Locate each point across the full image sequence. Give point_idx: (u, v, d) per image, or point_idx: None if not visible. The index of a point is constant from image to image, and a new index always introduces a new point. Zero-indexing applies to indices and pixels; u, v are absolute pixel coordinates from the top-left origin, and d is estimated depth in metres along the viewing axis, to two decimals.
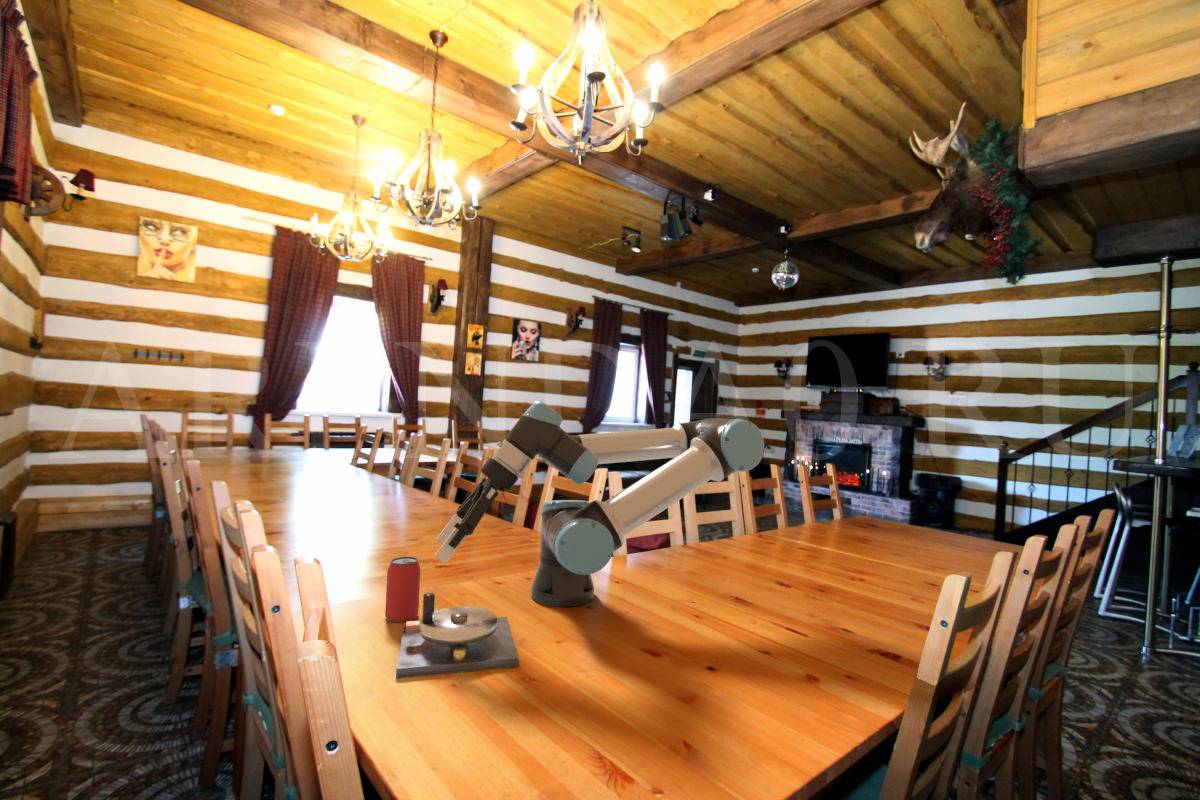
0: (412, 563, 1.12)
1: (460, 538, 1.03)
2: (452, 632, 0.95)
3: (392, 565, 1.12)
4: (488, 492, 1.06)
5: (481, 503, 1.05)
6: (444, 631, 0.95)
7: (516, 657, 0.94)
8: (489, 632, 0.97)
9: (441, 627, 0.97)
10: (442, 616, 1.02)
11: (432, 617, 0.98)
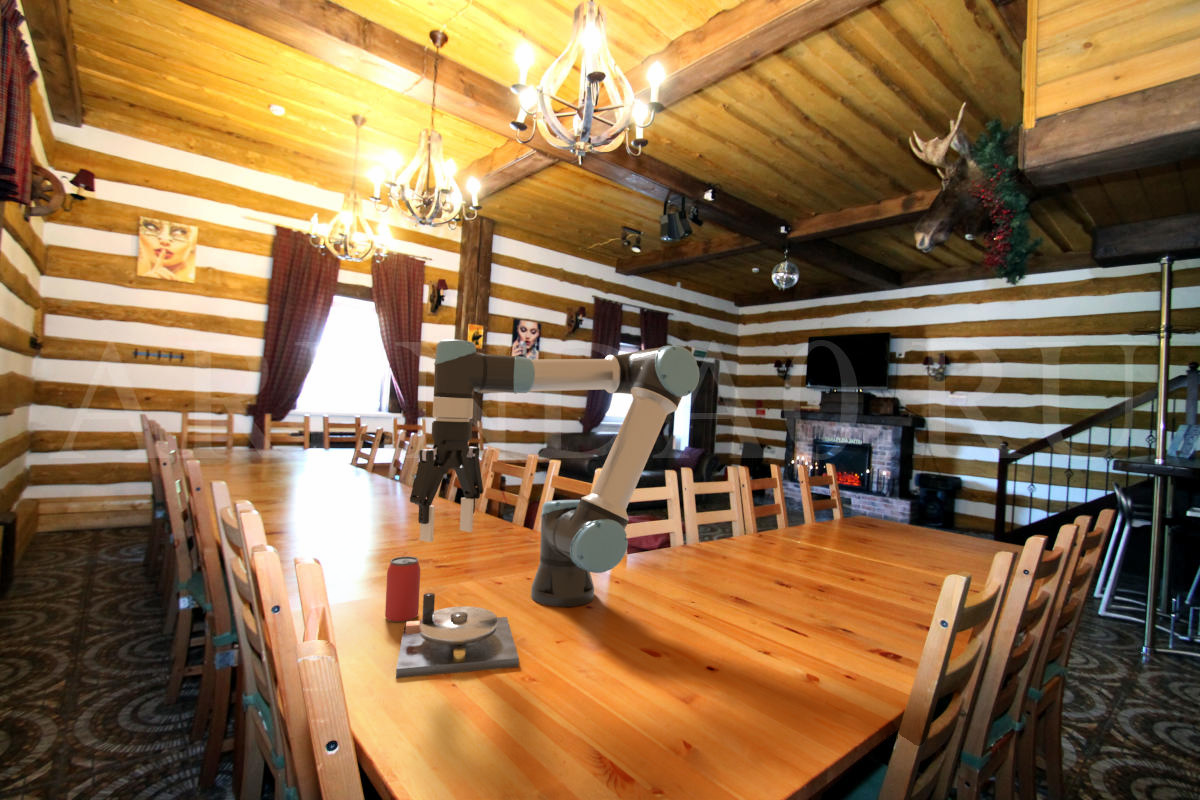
0: (412, 563, 1.12)
1: (423, 511, 0.99)
2: (452, 632, 0.95)
3: (392, 565, 1.12)
4: (422, 455, 0.99)
5: (420, 469, 0.99)
6: (444, 631, 0.95)
7: (516, 657, 0.94)
8: (489, 632, 0.97)
9: (441, 627, 0.97)
10: (442, 616, 1.02)
11: (432, 617, 0.98)
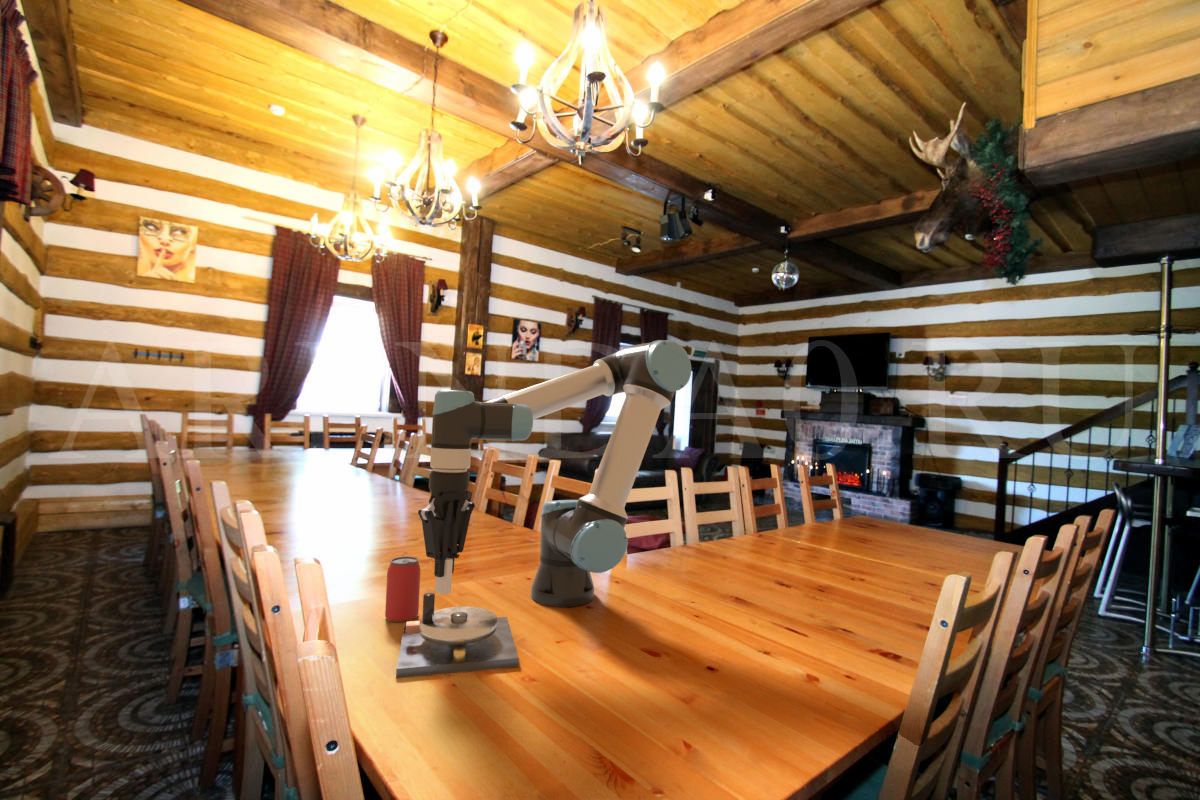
0: (412, 563, 1.12)
1: (438, 565, 1.02)
2: (452, 632, 0.95)
3: (392, 565, 1.12)
4: (422, 516, 1.00)
5: (425, 528, 1.00)
6: (444, 631, 0.95)
7: (516, 657, 0.94)
8: (489, 632, 0.97)
9: (441, 627, 0.97)
10: (442, 616, 1.02)
11: (432, 617, 0.98)
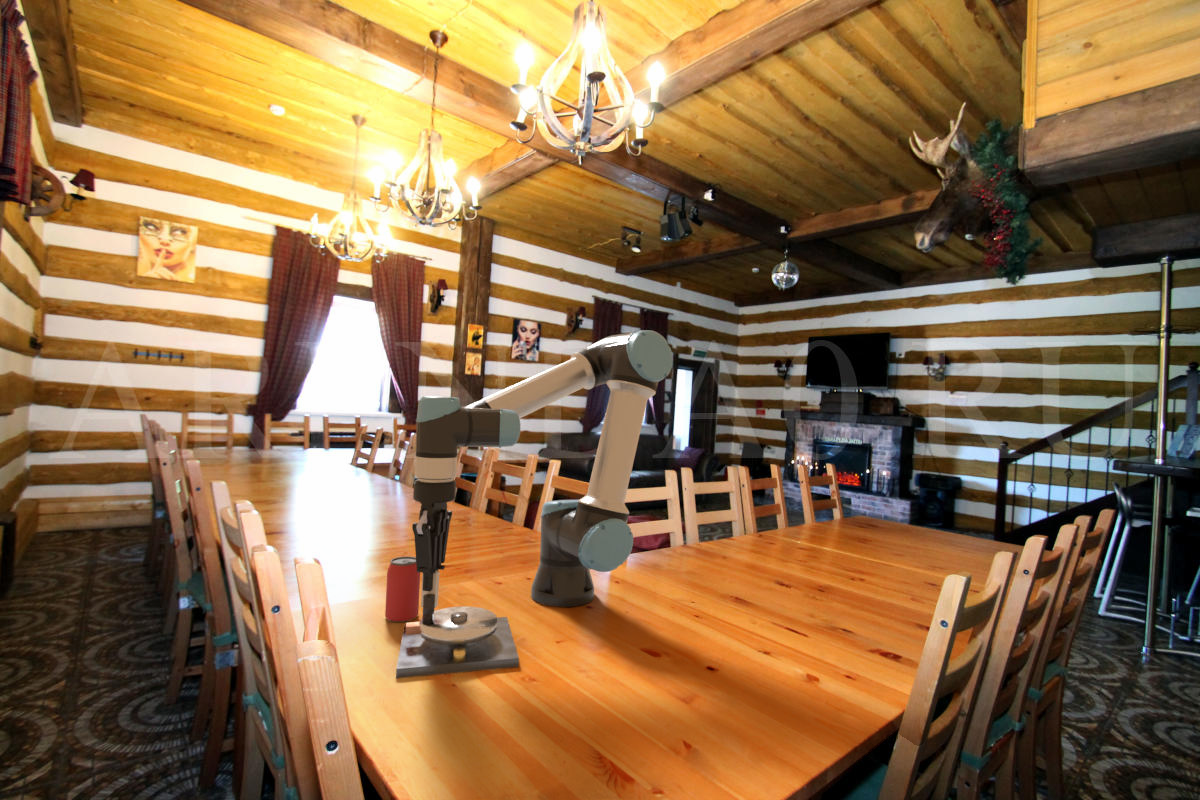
0: (412, 563, 1.12)
1: (428, 579, 0.98)
2: (453, 632, 0.95)
3: (392, 565, 1.12)
4: (416, 531, 0.95)
5: (419, 543, 0.95)
6: (446, 631, 0.95)
7: (516, 657, 0.94)
8: (490, 631, 0.98)
9: (442, 627, 0.97)
10: (441, 616, 1.02)
11: (432, 618, 0.98)
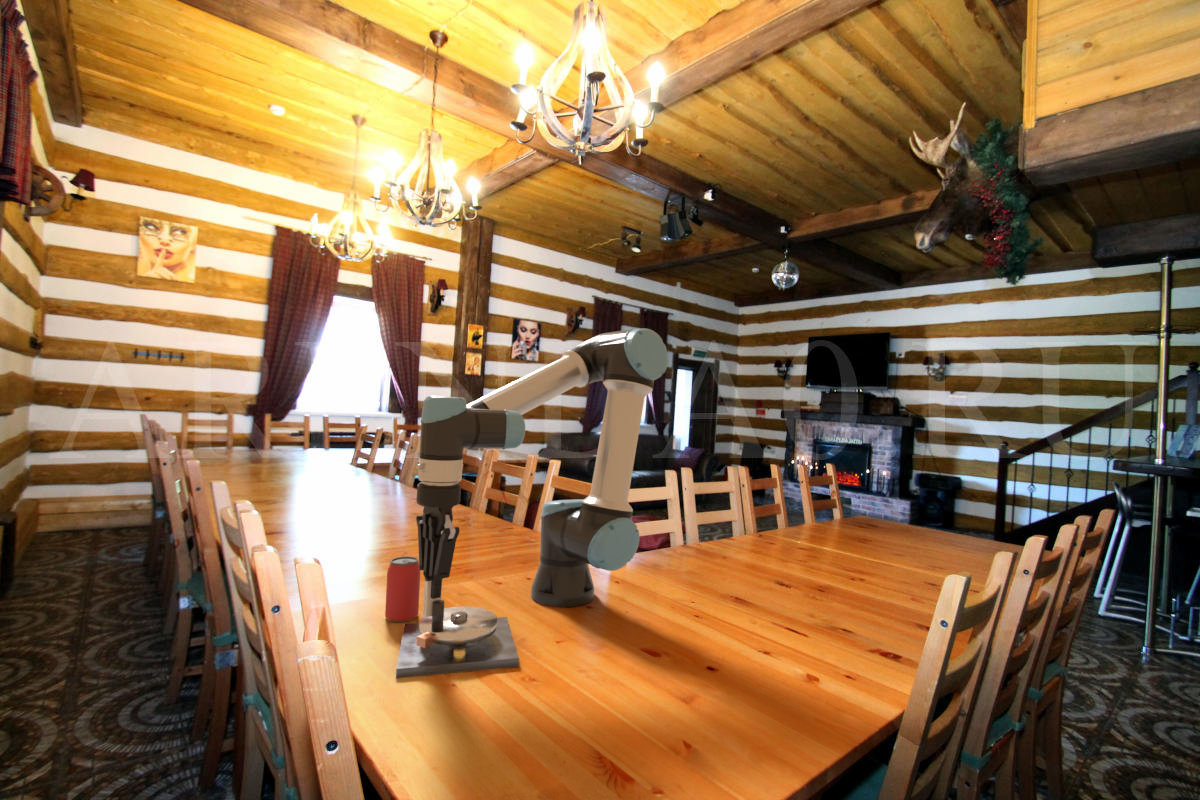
0: (412, 563, 1.12)
1: (439, 585, 0.95)
2: (477, 629, 0.97)
3: (392, 565, 1.12)
4: (448, 536, 0.92)
5: (445, 549, 0.93)
6: (469, 630, 0.96)
7: (516, 657, 0.94)
8: None
9: (458, 629, 0.96)
10: None
11: (443, 623, 0.96)
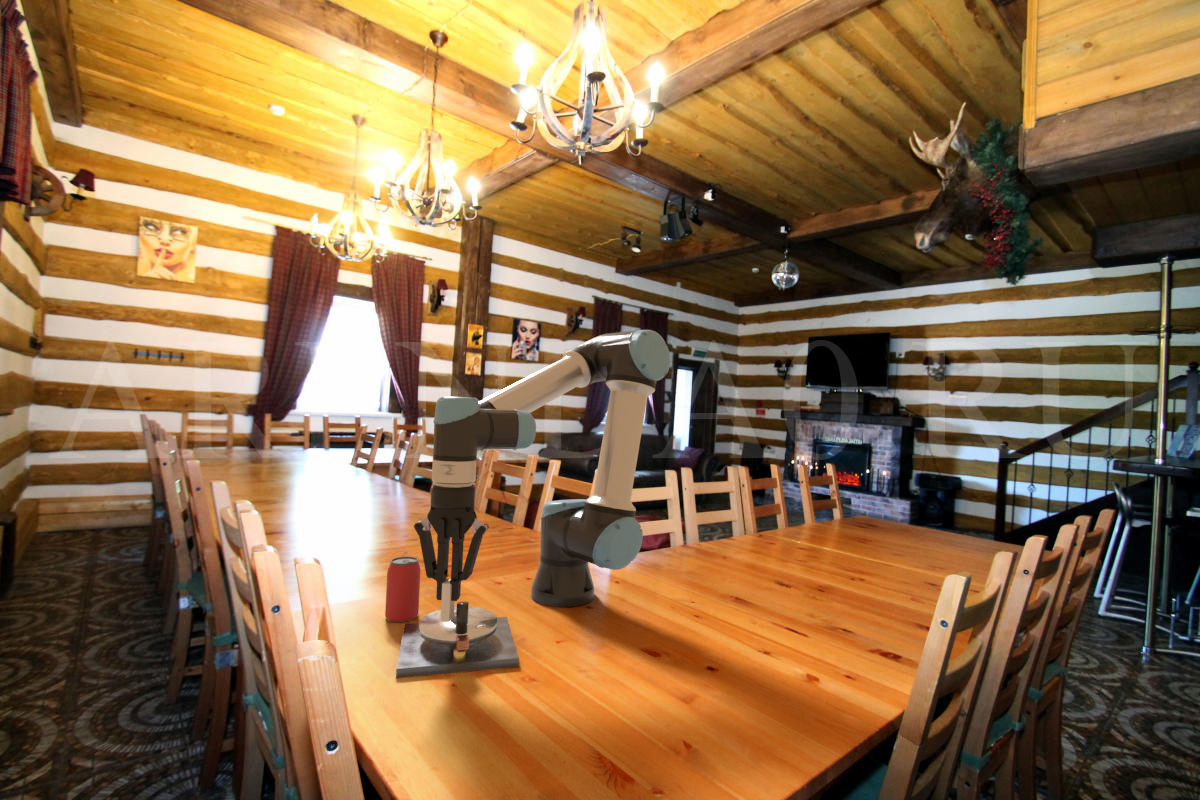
0: (412, 563, 1.12)
1: (460, 586, 0.95)
2: (489, 620, 1.01)
3: (392, 565, 1.12)
4: (483, 533, 0.94)
5: (477, 546, 0.94)
6: (486, 623, 0.99)
7: (516, 657, 0.94)
8: None
9: (475, 625, 0.98)
10: (446, 627, 0.97)
11: None
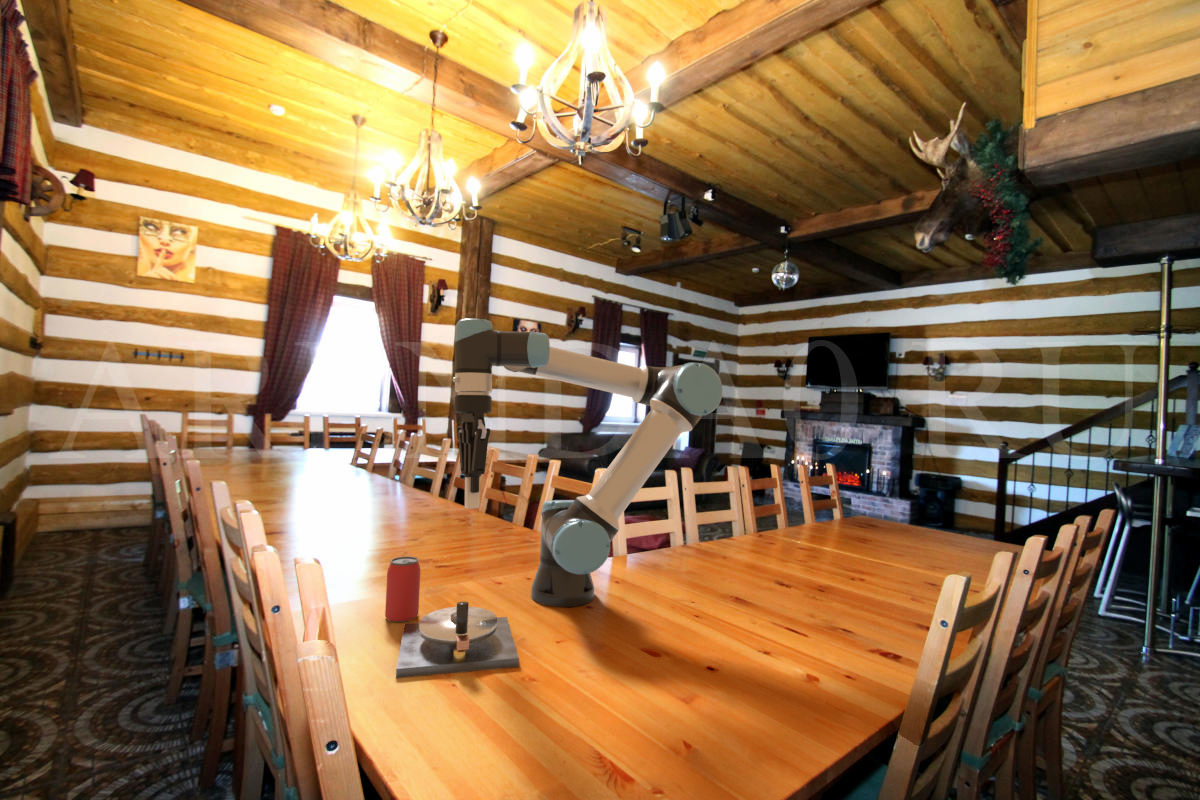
0: (412, 563, 1.12)
1: (477, 481, 1.11)
2: (489, 620, 1.01)
3: (392, 565, 1.12)
4: (481, 435, 1.07)
5: (479, 447, 1.08)
6: (486, 623, 0.99)
7: (516, 657, 0.94)
8: None
9: (475, 625, 0.98)
10: (446, 627, 0.97)
11: None
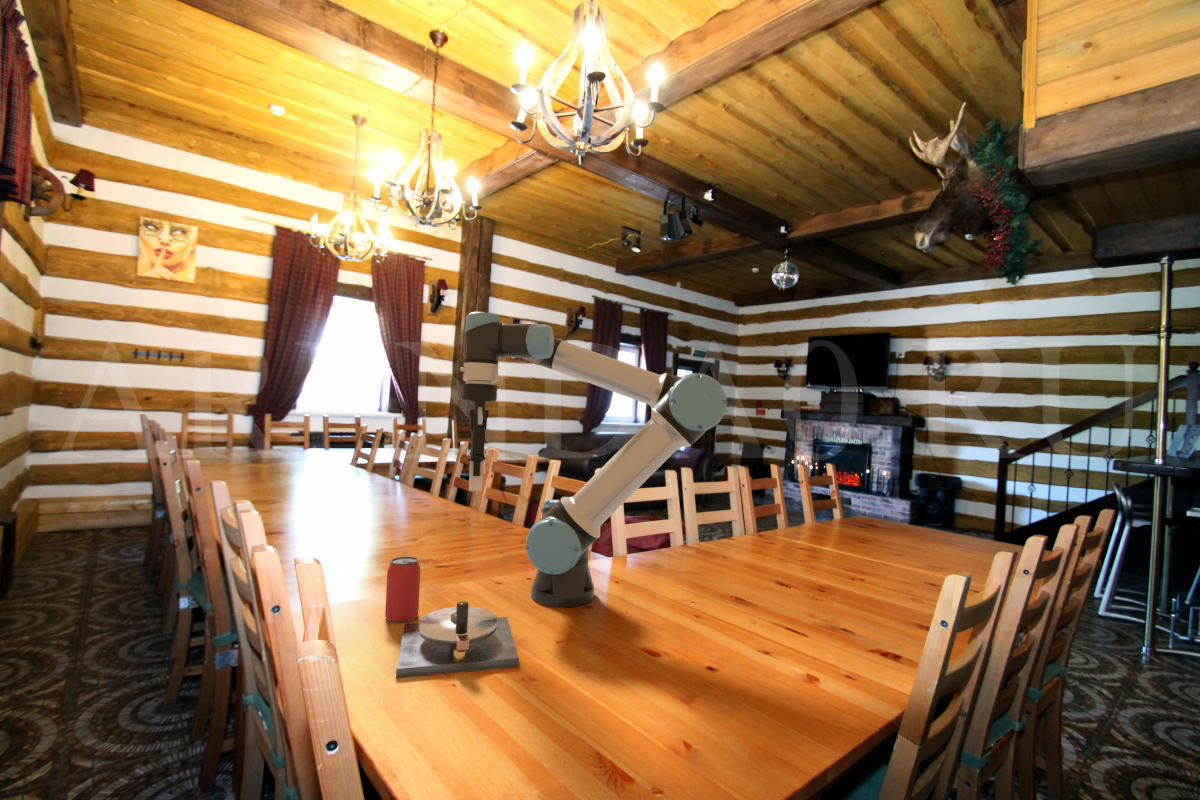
0: (412, 563, 1.12)
1: (478, 466, 1.17)
2: (489, 620, 1.01)
3: (392, 565, 1.12)
4: (477, 421, 1.13)
5: (477, 432, 1.14)
6: (486, 623, 0.99)
7: (516, 657, 0.94)
8: None
9: (475, 625, 0.98)
10: (446, 627, 0.97)
11: None
